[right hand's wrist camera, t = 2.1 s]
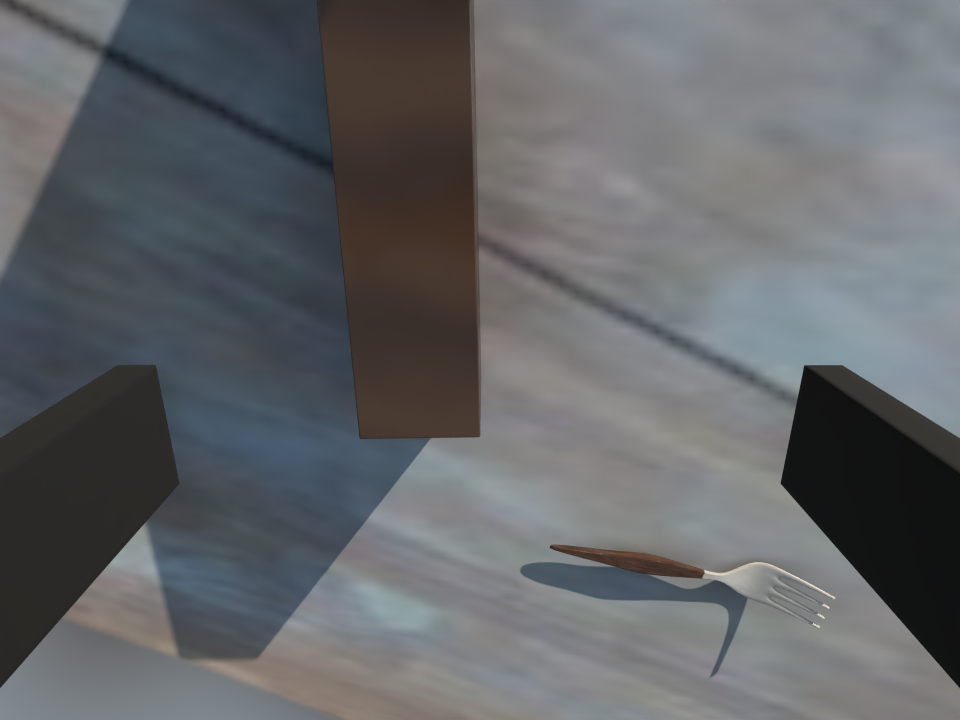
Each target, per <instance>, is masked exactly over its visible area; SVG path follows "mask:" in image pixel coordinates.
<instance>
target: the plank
mask: <svg viewBox="0 0 960 720" xmlns="http://www.w3.org/2000/svg"><path fill="white" fill-rule="evenodd" d="M317 8H318V18H319V28H320V39H321V49H322V59H323V69H324V80H325V90H326V100H327V110H328V120H329V131H330V141H331V151H332V161H333V172H334V182H335V192H336V202H337V212H338V223H339V233H340V243H341V253H342V264H343V274H344V284H345V294H346V304H347V315H348V325H349V335H350V345H351V356H352V366H353V376H354V386H355V396H356V407H357V417H358V427H359V437H360V439H381V438H453V437H480V419H481V345H480V294H479V244H478V193H477V143H476V92H475V41H474V0H317Z"/></svg>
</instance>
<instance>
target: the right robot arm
mask: <svg viewBox="0 0 960 720" xmlns="http://www.w3.org/2000/svg"><path fill="white" fill-rule="evenodd" d="M178 484H179V479H178V474H177V469H176V464H175V459H174V454H173V449H172V444H171V440H170V435H169V430H168V425H167V420H166V415H165V410H164V405H163V400H162V395H161V390H160V385H159V380H158V375H157V370H156V365H118V366H116V367H114V368H113V369H111V370H109V371H108V372H106V373H105V374H103V375H101V376H100V377H98V378H97V379H95V380H93V381H92V382H90V383H89V384H87V385H85V386H84V387H82V388H80V389H79V390H77V391H76V392H74V393H72V394H71V395H69V396H68V397H66V398H64V399H63V400H61V401H60V402H58V403H56V404H55V405H53V406H51V407H50V408H48V409H47V410H45V411H43V412H42V413H40V414H39V415H37V416H35V417H34V418H32V419H31V420H29V421H27V422H26V423H24V424H23V425H21V426H19V427H18V428H16V429H14V430H13V431H11V432H10V433H8V434H6V435H5V436H3V437H2V438H0V688H1V686H2V685H3V684H4V683H5V682H6V681H7V680H8V678H9V677H10V676H11V675H12V674H13V673H14V672H15V670H16V669H17V668H18V667H19V666H20V665H21V664H22V662H23V661H24V660H25V659H26V658H27V657H28V656H29V654H30V653H31V652H32V651H33V650H34V649H35V648H36V646H37V645H38V644H39V643H40V642H41V641H42V640H43V638H44V637H45V636H46V635H47V634H48V633H49V632H50V631H51V629H52V628H53V627H54V626H55V625H56V624H57V623H58V621H59V620H60V619H61V618H62V617H63V616H64V615H65V613H66V612H67V611H68V610H69V609H70V608H71V607H72V605H73V604H74V603H75V602H76V601H77V600H78V599H79V597H80V596H81V595H82V594H83V593H84V592H85V591H86V589H87V588H88V587H89V586H90V585H91V584H92V583H93V581H94V580H95V579H96V578H97V577H98V576H99V575H100V573H101V572H102V571H103V570H104V569H105V568H106V567H107V566H108V564H109V563H110V562H111V561H112V560H113V559H114V558H115V556H116V555H117V554H118V553H119V552H120V551H121V550H122V548H123V547H124V546H125V545H126V544H127V543H128V542H129V540H130V539H131V538H132V537H133V536H134V535H135V534H136V532H137V531H138V530H139V529H140V528H141V527H142V526H143V524H144V523H145V522H146V521H147V520H148V519H149V518H150V516H151V515H152V514H153V513H154V512H155V511H156V510H157V508H158V507H159V506H160V505H161V504H162V503H163V502H164V500H165V499H166V498H167V497H168V496H169V495H170V494H171V492H172V491H173V490H174V489H175V488H176V487H177V486H178ZM781 485H782V486H783V487H784V488H785V489H786V490H787V491H788V492H789V494H790V495H791V496H792V497H793V498H794V499H795V500H796V502H797V503H798V504H799V505H800V506H801V507H802V508H803V510H804V511H805V512H806V513H807V514H808V515H809V516H810V518H811V519H812V520H813V521H814V522H815V523H816V524H817V526H818V527H819V528H820V529H821V530H822V531H823V532H824V534H825V535H826V536H827V537H828V538H829V539H830V540H831V542H832V543H833V544H834V545H835V546H836V547H837V548H838V550H839V551H840V552H841V553H842V554H843V555H844V556H845V558H846V559H847V560H848V561H849V562H850V563H851V564H852V566H853V567H854V568H855V569H856V570H857V571H858V572H859V573H860V575H861V576H862V577H863V578H864V579H865V580H866V581H867V583H868V584H869V585H870V586H871V587H872V588H873V589H874V591H875V592H876V593H877V594H878V595H879V596H880V597H881V599H882V600H883V601H884V602H885V603H886V604H887V605H888V607H889V608H890V609H891V610H892V611H893V612H894V613H895V615H896V616H897V617H898V618H899V619H900V620H901V621H902V623H903V624H904V625H905V626H906V627H907V628H908V629H909V631H910V632H911V633H912V634H913V635H914V636H915V637H916V639H917V640H918V641H919V642H920V643H921V644H922V645H923V647H924V648H925V649H926V650H927V651H928V652H929V653H930V654H931V656H932V657H933V658H934V659H935V660H936V661H937V662H938V664H939V665H940V666H941V667H942V668H943V669H944V670H945V672H946V673H947V674H948V675H949V676H950V677H951V678H952V680H953V681H954V682H955V683H956V684H957V685H958V686H959V688H960V438H958V437H957V436H955V435H954V434H952V433H950V432H949V431H947V430H946V429H944V428H942V427H941V426H939V425H937V424H936V423H934V422H933V421H931V420H929V419H928V418H926V417H925V416H923V415H921V414H920V413H918V412H917V411H915V410H913V409H912V408H910V407H908V406H907V405H905V404H904V403H902V402H900V401H899V400H897V399H896V398H894V397H892V396H891V395H889V394H888V393H886V392H884V391H883V390H881V389H879V388H878V387H876V386H875V385H873V384H871V383H870V382H868V381H867V380H865V379H863V378H862V377H860V376H859V375H857V374H855V373H854V372H852V371H851V370H849V369H847V368H846V367H844V366H842V365H804V370H803V375H802V380H801V385H800V390H799V395H798V400H797V405H796V410H795V415H794V420H793V425H792V430H791V435H790V440H789V444H788V449H787V454H786V459H785V464H784V469H783V474H782V479H781Z"/></svg>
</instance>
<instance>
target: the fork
mask: <svg viewBox="0 0 960 720" xmlns="http://www.w3.org/2000/svg"><path fill="white" fill-rule="evenodd" d="M550 548H551V549H554V550H556V551H559V552H563V553H566V554H570V555H574V556H577V557H581V558H585V559H589V560H593V561H597V562H601V563H604V564H608V565H612V566H615V567H619V568H622V569H626V570H630V571H634V572H638V573H643V574H650V575H660V576H673V577H687V578H701V579H711V580H717V581H721V582H723V583H725V584H726V585H728V586H729V587H730V588H732V589H733V590H734V591H736V592H737V593H739V594H741V595H743V596H745V597H747V598H749V599H752V600H755V601H758V602H761V603H764V604H766V605H769V606H771V607H774V608H776V609H778V610H781V611H783V612H785V613H787V614H789V615H792V616H794V617H796V618H798V619H800V620H802V621H805V622H807V623H809V624H811V625H813V626H815V627H816V628H818V629H819V628H820V627H819V626H818V625H816V624H814V623H813V622H811V621H809V620H807V619H806V618H804V617H802V616H800V615H798V614H797V613H795V612H793V611H791V610H789V609H788V608H786V607H784V606H782V605H780V604H778V603H776V602H775V601H773V600H772V599H771V598H770V597H771V596H772V597H776V598H779V599H782V600H784V601H786V602H789V603H791V604H793V605H795V606H797V607H800V608H802V609H804V610H806V611H808V612H811V613H813V614H815V615H817V616H819V617H821V618H823V619H824V617H823V616H822V615H820V614H818V613H817V612H815V611H813V610H811V609H810V608H808V607H806V606H804V605H802V604H801V603H799V602H797V601H795V600H793V599H791V598H789V597H788V596H786V595H784V594H782V593H780V592H778V591H777V590H776V589H775V587H780V588H783V589H785V590H788V591H790V592H792V593H795V594H797V595H799V596H801V597H804V598H806V599H808V600H810V601H813V602H815V603H817V604H819V605H821V606H823V607H825V608H827V609H830V608H829V607H828V606H826V605H825V604H823V603H821V602H819V601H817V600H816V599H814V598H812V597H810V596H808V595H807V594H805V593H803V592H801V591H799V590H797V589H795V588H793V587H791V586H790V585H788V584H786V583H784V582H782V581H781V580H780V579H779V578H780V577H783V578H787V579H789V580H792V581H794V582H796V583H799V584H801V585H803V586H806V587H808V588H810V589H813V590H815V591H817V592H819V593H822V594H824V595H826V596H828V597H830V598H832V599H835V597H833V596H831V595H830V594H828V593H826V592H824V591H822V590H820V589H819V588H817V587H815V586H813V585H811V584H809V583H807V582H805V581H804V580H802V579H800V578H798V577H796V576H794V575H792V574H790V573H788V572H786V571H783V570H781V569H779V568H777V567H775V566H773V565H770V564H767V563H763V562H754V563H749V564H746V565H743V566H740V567H738V568H736V569H733V570H731V571H728V572H725V573H714V572H709V571H706V570H702V569H699V568H696V567H692V566H689V565H686V564H683V563H679V562H676V561H673V560H669V559H666V558H662V557H658V556H654V555H650V554H644V553H636V552H624V551H612V550H601V549H593V548H585V547H576V546H566V545H550Z"/></svg>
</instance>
